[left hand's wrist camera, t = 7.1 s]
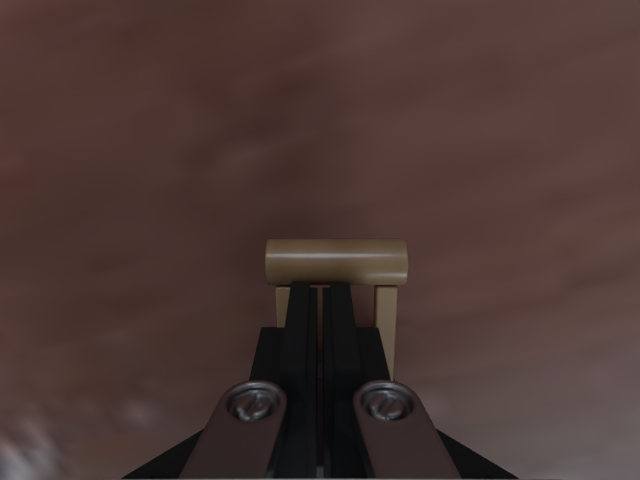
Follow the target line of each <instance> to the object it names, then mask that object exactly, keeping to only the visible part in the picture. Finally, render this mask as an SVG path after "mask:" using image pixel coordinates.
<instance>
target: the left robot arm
mask: <svg viewBox="0 0 640 480" xmlns="http://www.w3.org/2000/svg"><path fill="white" fill-rule="evenodd" d="M323 470H324V479H316V478H317V288H310V283H291V285H290V292H289V299H288V306H287V313H286V320H285V327H262V329H261V332H260V336H259V340H258V345H257V349H256V353H255V357H254V362H253V366H252V370H251V374H250V379H249V381H246V382H242V383H239V384H237V385H235V386H233V387H231V388H230V389H229V390H227V391H226V392H225V393H224V395H223V396H222V397H221V399H220V400H219V402H218V404H217V406H216V408H215V410H214V412H213V414H212V415H211V417H210V419H209V421H208V423H207V425H206V427H205V428H204V429H203V430H201V431H199V432H198V433H196V434H194V435H193V436H191V437H189V438H188V439H186V440H184V441H183V442H181V443H179V444H178V445H176V446H174V447H173V448H171V449H169V450H168V451H166V452H164V453H163V454H161V455H159V456H158V457H156V458H154V459H153V460H151V461H149V462H148V463H146V464H144V465H143V466H141V467H139V468H138V469H136V470H134V471H133V472H131V473H129V474H128V475H126V476H124V477H123V478H122V479H81V480H559V479H519V478H517V477H516V476H514V475H512V474H511V473H509V472H507V471H506V470H504V469H502V468H501V467H499V466H497V465H496V464H494V463H492V462H491V461H489V460H487V459H486V458H484V457H482V456H481V455H479V454H477V453H476V452H474V451H472V450H471V449H469V448H467V447H466V446H464V445H462V444H461V443H459V442H457V441H456V440H454V439H452V438H451V437H449V436H447V435H446V434H444V433H442V432H441V431H439V430H437V429H436V428H435V427H434V425H433V423H432V421H431V419H430V417H429V415H428V414H427V412H426V410H425V408H424V406H423V404H422V402H421V400H420V399H419V397H418V396H417V395H416V393H415V392H414V391H413V390H411V389H410V388H409V387H407V386H405V385H403V384H401V383H398V382H394V381H391V378H390V374H389V370H388V365H387V361H386V357H385V353H384V348H383V344H382V340H381V336H380V331H379V328H378V327H356V326H355V319H354V312H353V305H352V298H351V291H350V284H349V283H330V288H323Z"/></svg>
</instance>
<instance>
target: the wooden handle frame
mask: <svg viewBox="0 0 640 480" xmlns="http://www.w3.org/2000/svg"><path fill="white" fill-rule="evenodd" d="M265 275H266V281H267V283H268V284H269V285H276V288H275V294H276V317H277V327H285V320H286V313H287V306H288V299H289V292H290V285H291V283H310V285H330V283H349V284H350V285H374V316H373V327H378V328H379V331H380V336H381V340H382V344H383V348H384V353H385V357H386V361H387V365H388V370H389V374H390V378H391V381H394V382H395V379H394V360H395V337H396V315H397V292H398V288H397V286H396V285H405V284H406V281H407V277H408V248H407V243H406V241H405V239H269V240H268V241H267V244H266V250H265ZM316 479H324V470H323V352H317V478H316Z"/></svg>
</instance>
